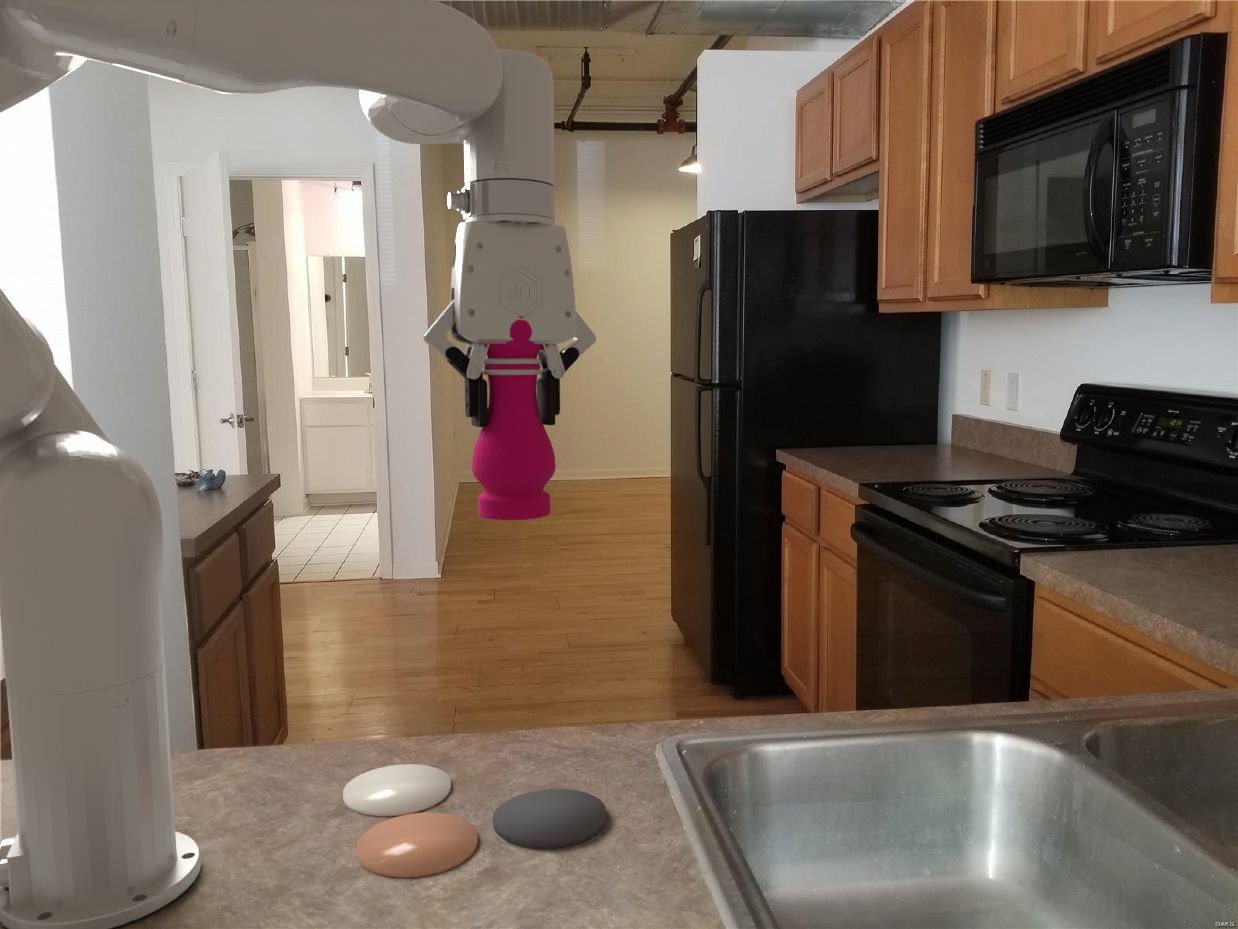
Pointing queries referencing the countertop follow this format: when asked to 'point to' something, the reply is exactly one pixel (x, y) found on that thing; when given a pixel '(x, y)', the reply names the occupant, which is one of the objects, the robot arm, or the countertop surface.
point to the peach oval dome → (416, 844)
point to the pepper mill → (513, 434)
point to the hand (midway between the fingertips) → (513, 422)
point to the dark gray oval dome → (549, 818)
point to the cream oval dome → (396, 790)
